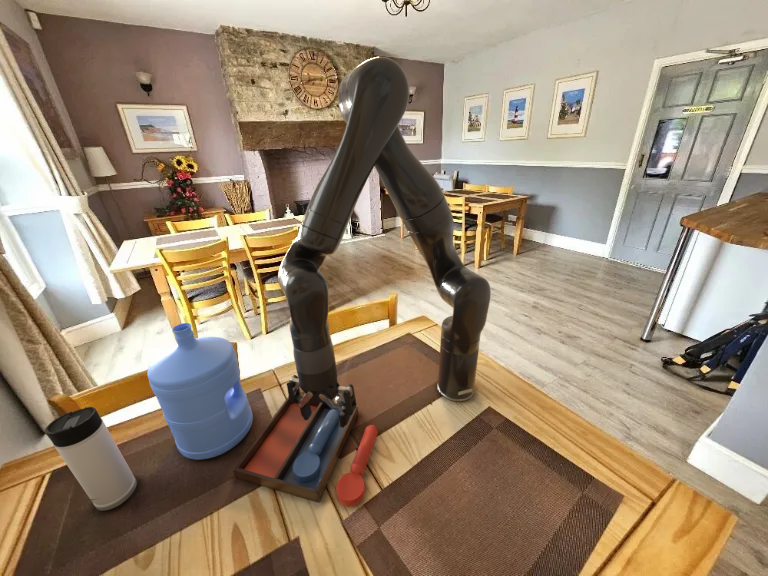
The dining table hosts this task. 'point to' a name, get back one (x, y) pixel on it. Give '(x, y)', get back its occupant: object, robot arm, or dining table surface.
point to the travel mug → (92, 457)
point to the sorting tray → (293, 451)
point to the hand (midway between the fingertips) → (325, 420)
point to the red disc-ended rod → (357, 471)
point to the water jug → (201, 394)
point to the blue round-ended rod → (315, 451)
